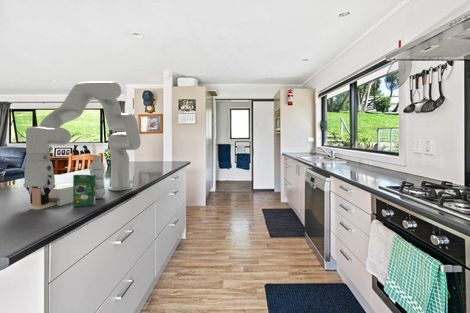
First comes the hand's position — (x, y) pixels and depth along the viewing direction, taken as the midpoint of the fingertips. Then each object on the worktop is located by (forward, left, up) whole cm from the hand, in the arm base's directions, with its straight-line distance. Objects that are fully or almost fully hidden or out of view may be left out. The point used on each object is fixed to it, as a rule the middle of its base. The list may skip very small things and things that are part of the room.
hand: (39, 203), depth 110 cm
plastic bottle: (-20, +10, -2) cm, 23 cm away
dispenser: (-12, 0, -2) cm, 12 cm away
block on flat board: (-7, 0, -2) cm, 7 cm away
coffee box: (-7, +15, -2) cm, 17 cm away
